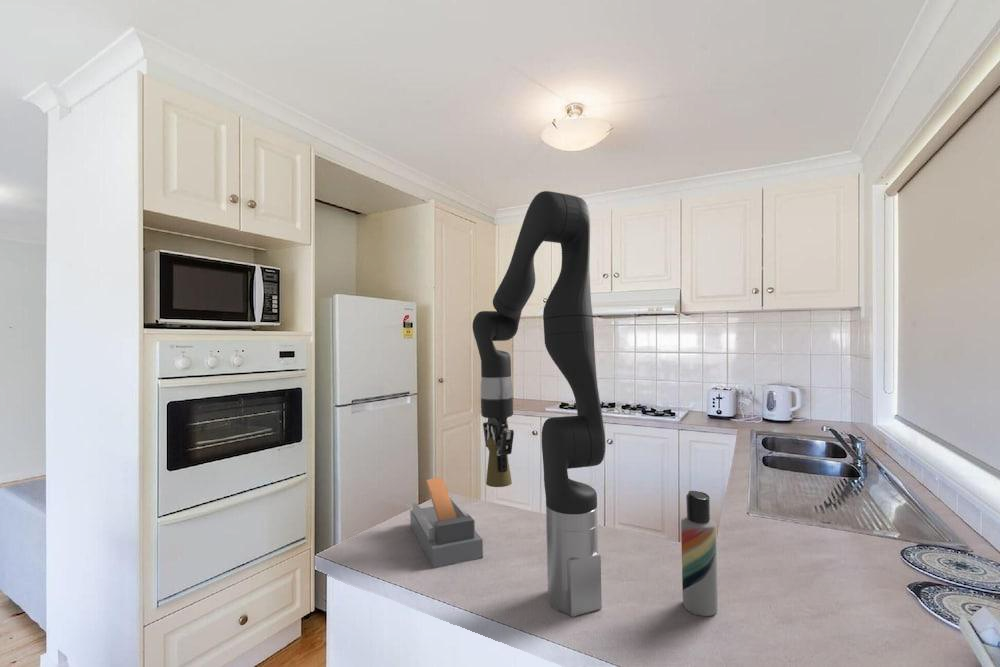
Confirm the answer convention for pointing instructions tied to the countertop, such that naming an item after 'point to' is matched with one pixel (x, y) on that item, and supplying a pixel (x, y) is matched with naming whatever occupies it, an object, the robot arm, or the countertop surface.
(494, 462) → the olive pawn figure
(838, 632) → the countertop surface
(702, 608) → the lotion bottle
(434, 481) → the lever
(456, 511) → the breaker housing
